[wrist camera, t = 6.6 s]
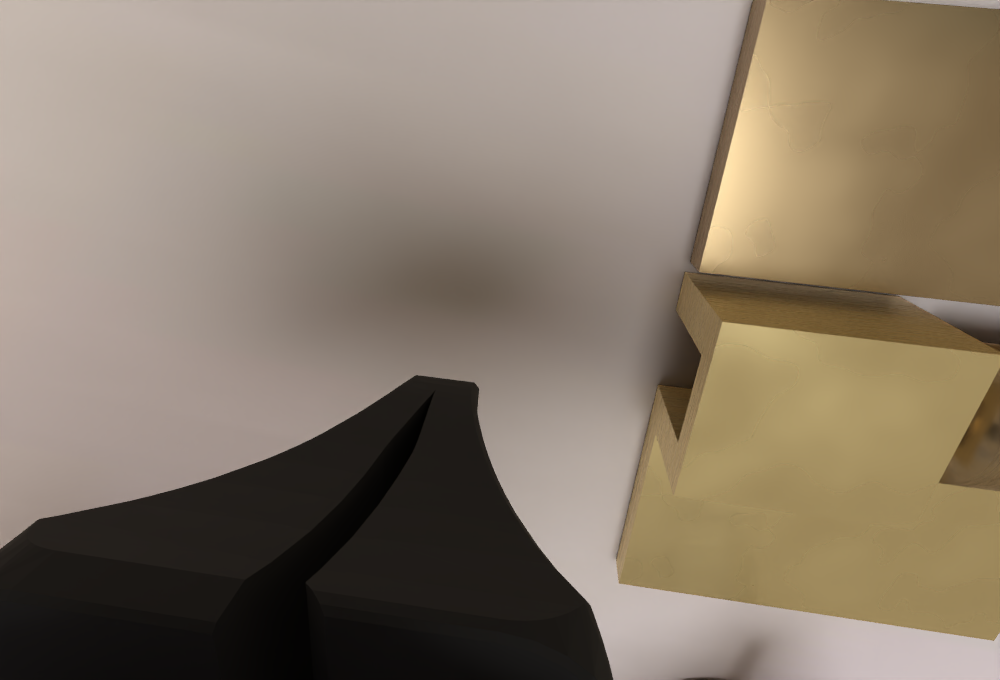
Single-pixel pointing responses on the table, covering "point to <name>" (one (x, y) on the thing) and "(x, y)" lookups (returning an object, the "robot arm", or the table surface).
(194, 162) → the table surface
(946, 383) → the brass leaf
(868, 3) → the bronze leaf with pin
